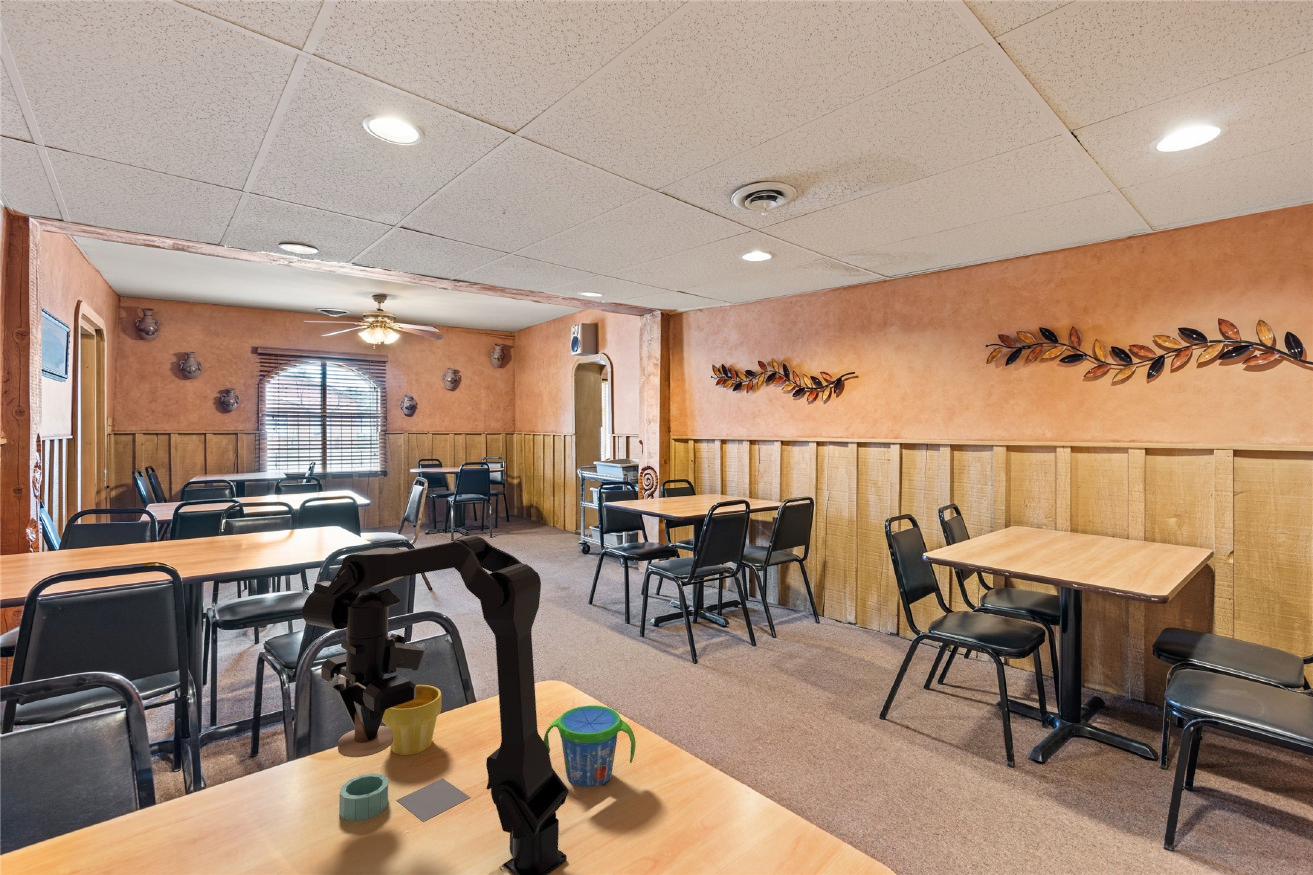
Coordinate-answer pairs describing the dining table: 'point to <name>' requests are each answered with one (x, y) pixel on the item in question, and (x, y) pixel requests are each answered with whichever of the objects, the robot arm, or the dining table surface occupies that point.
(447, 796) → the mat
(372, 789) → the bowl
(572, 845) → the dining table surface
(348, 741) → the lid
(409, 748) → the plant pot
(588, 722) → the snack cup
